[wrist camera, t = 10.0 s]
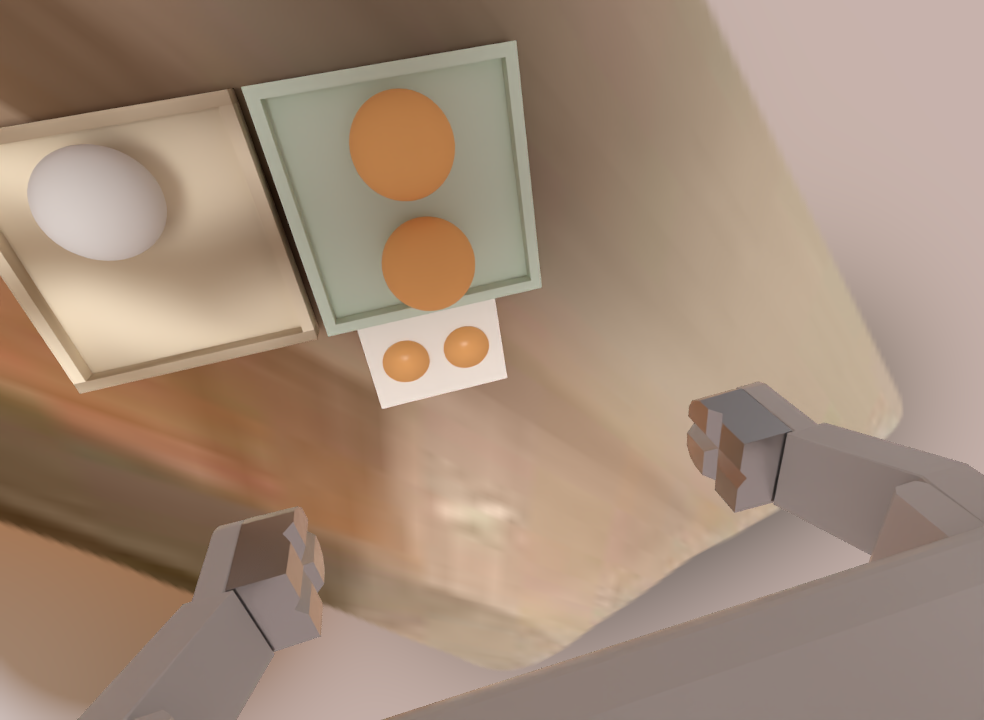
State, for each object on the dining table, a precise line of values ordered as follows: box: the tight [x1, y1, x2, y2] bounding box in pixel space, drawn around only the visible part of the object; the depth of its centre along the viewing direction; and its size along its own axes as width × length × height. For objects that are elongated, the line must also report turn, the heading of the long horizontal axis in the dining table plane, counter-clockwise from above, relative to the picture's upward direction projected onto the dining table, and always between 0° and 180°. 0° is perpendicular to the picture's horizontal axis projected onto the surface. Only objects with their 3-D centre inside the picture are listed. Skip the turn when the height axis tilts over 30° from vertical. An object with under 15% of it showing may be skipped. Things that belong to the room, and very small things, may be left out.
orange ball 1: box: [349, 88, 455, 201], centre depth 20 cm, size 4×4×4 cm
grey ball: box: [27, 144, 167, 261], centre depth 19 cm, size 4×4×4 cm
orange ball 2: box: [382, 216, 475, 311], centre depth 23 cm, size 4×4×4 cm
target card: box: [357, 299, 507, 409], centre depth 27 cm, size 5×7×1 cm
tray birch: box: [0, 88, 319, 394], centre depth 22 cm, size 10×10×1 cm
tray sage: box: [241, 40, 542, 337], centre depth 23 cm, size 10×10×1 cm
